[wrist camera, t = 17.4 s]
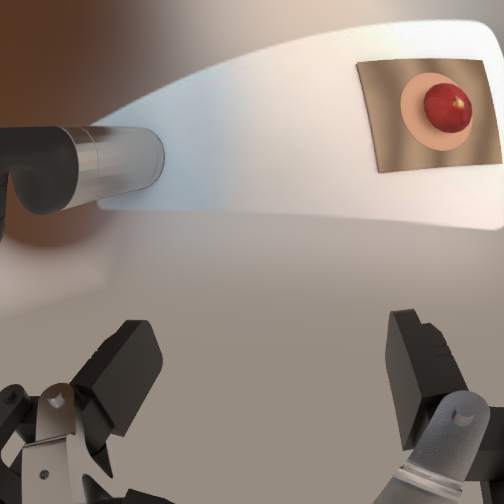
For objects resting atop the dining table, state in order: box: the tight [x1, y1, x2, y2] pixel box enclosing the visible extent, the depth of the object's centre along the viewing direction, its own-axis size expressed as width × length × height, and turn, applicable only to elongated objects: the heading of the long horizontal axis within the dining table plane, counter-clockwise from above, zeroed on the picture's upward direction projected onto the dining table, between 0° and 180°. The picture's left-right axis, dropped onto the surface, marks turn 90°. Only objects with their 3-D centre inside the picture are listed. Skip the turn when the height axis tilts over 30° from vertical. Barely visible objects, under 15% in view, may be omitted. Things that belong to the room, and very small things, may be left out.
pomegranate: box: [424, 83, 472, 133], centre depth 26 cm, size 6×6×8 cm
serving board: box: [357, 58, 503, 173], centre depth 31 cm, size 18×14×1 cm
